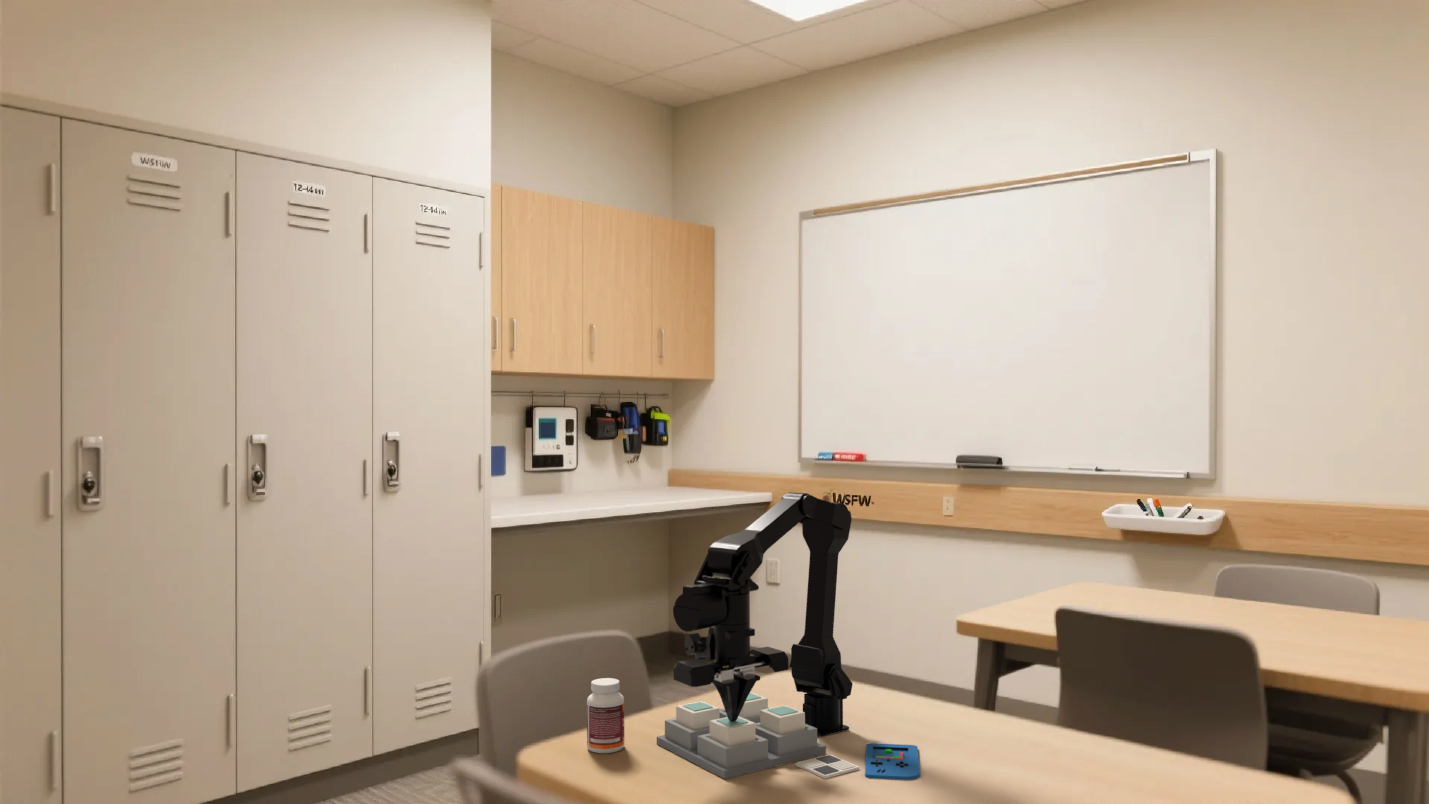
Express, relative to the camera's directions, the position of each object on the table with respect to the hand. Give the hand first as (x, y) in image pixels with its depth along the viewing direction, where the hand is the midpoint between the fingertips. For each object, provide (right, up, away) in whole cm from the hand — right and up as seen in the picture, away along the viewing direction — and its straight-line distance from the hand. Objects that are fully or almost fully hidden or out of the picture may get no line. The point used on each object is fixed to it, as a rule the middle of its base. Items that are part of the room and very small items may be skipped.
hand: (732, 720), depth 159 cm
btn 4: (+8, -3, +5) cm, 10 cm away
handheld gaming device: (+25, -7, 0) cm, 26 cm away
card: (+15, -7, -2) cm, 16 cm away
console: (+1, -7, +7) cm, 10 cm away
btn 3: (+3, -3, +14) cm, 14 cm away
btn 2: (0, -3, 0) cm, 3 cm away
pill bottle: (-21, -7, +8) cm, 23 cm away
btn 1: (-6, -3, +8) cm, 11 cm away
